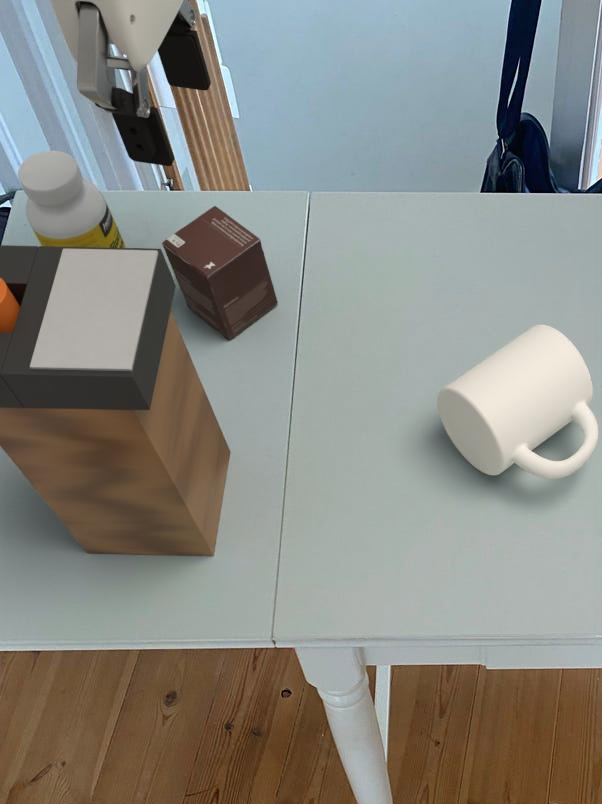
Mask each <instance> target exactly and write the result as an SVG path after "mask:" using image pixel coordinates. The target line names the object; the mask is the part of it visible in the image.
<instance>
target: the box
mask: <svg viewBox="0 0 602 804" xmlns="http://www.w3.org/2000/svg"><path fill="white" fill-rule="evenodd" d="M262 245H263V244H262V241H261V239H260V238H259V237H258V236H257V235H255V234H254V233H253V232H252V231H250V230H249V229H247V228H246V227H244V226H243V224H241V223H240V222H238V221H237V220H235V219H234V218H233V217H231V215H228V214H227V213H226V212H225V211H223V210H222V209H220V207H217V206H216V205H213V206H212V207H211V208H209V209H208V210H206V211H204V212H203V213H202V214H200V215H199V216H198V217H197V218H195V219H193V220H192V221H191V222H189V223H187V224H186V225H184V226H183V227H181V228H180V229H178V230H177V231H176V232H175V233H174V232H173V234H171V235H170V236H169V237H168V238H166V239H165V240H163V241H162V242H161V246H162V247H163V249H164V251H165V255H166V257H167V259H168V262H169V264H170V266H171V268H172V271H173V273H174V276H175V278H176V281H177V284H178V286H179V288H180V290H181V292H182V295H183V297H184V300H185V302H186V303H185V304H186V306H187V307H188V308H189V309H190V310H192V312H194V313H195V314H197V316H199V317H200V318H201V319H202V320H204V321H205V322H206V323H208V324H209V326H211V327H213V328H214V329H215V330H216V331H218V332H219V333H220V334H221V335H223V337H225V338H226V339H228V340H231V339H233V338H234V337H236V336H237V335H238V334H240V333H241V332H243V331H244V330H245V329H247V328H248V327H249V326H251V324H253V323H254V322H256V321H257V320H259V319H260V318H261V317H262V316H264V315H265V314H266V313H267V312H269V311H270V310H271V309H273V308H274V307H275V306H277V305H278V304H279V302H278V298H277V295H276V291H275V287H274V283H273V280H272V276H271V273H270V270H269V266H268V263H267V260H266V256H265V252H264V249H263V246H262Z"/></svg>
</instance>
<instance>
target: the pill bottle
mask: <svg viewBox="0 0 602 804" xmlns="http://www.w3.org/2000/svg"><path fill="white" fill-rule="evenodd" d="M17 177H18V178H17V179H18V181H19V183H20V186H21V188H22V190H23V192H24V194H25V195H26V197H27V200H26V202H25V215H26V219H27V221H28V224H29V226H30V227H31V229H32V231H33V233H34V235H35V237H36V239H37V240H38V242H39V243H40V246H53V247H102V248H127V245H126V243H125V241H124V239H123V237H122V235H121V232H120V230H119V228H118V226H117V224H116V222H115V221H116V220H115V219H114V217H113V214H112V212H111V210H110V208H109V205H108V203H107V201H106V199H105V197H104V194H103V193H102V191H101V190H100V189H99V188H98V186H97V185H96V184H95V183H93V182H92V181H90V180H88V179H86V178H84V177H83V174H82V171H81V169H80V168H79V165H78V163H77V161H76V160H75V159H74V157H73V156H72V155H70V154H68V153H67V152H63V151H59V150H44V151H40V152H37V153H34V154H33V155H30V156H29V157H28V158H26V159H25V160H24V161H23V162H22V163H21V164H20V166H19V168H18V169H17Z"/></svg>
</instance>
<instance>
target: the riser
mask: <svg viewBox="0 0 602 804" xmlns="http://www.w3.org/2000/svg"><path fill="white" fill-rule="evenodd" d="M0 448H1V449H2V450H3V451H4V453H5V454H6V455H7V457H9V459H10V460H11V461H12V462H13V464H14V465H15V466H16V467H17V468H18V470H19V471H20V472H21V474H22V475H24V477H25V478H26V480H27V481H28V483H30V485H31V486H32V487H33V488H34V489H35V491H36V492H37V493H38V494H39V496H40V497H41V498H42V499H43V501H45V503H46V504H47V505H48V506H49V508H50V509H51V510H52V511H53V513H54V514H55V515H56V516H57V517H58V519H59V520H60V521H61V522H62V524H63V526H64V527H65V528H66V529H67V530H68V532H69V533H70V534H71V535H72V537H74V538H75V540H76V541H77V542H78V543H79V545H80V546H81V547H82V548H83V550H84V551H85V552H86V553H87V554H102V555H103V554H109V555H110V554H111V555H153V556H154V555H158V556H161V555H162V556H203V557H205V556H206V557H211V556H212V557H214V556H215V549H216V544H217V538H218V531H219V524H220V520H221V519H220V518H221V512H222V505H223V500H224V492H225V488H226V482H227V481H226V480H227V476H228V475H227V474H228V468H229V461H230V456H231V450H230V447H229V445H228V443H227V441H226V438H225V435H224V433H223V431H222V429H221V426H220V424H219V421H218V419H217V416H216V414H215V412H214V409H213V407H212V404H211V401H210V400H209V397H208V395H207V393H206V390H205V388H204V386H203V383H202V381H201V378H200V377H199V373H198V371H197V369H196V367H195V364H194V361H193V360H192V357H191V355H190V353H189V350H188V348H187V346H186V343H185V340H184V339H183V336H182V334H181V331H180V328H179V326H178V324H177V321H176V319H175V317H174V314H173V312H172V310H171V311H170V316H169V320H168V325H167V330H166V335H165V340H164V344H163V349H162V354H161V359H160V364H159V368H158V373H157V378H156V383H155V388H154V392H153V397H152V402H151V407H150V410H120V409H71V408H25V407H24V408H15V407H0Z"/></svg>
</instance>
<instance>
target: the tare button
mask: <svg viewBox="0 0 602 804" xmlns="http://www.w3.org/2000/svg"><path fill="white" fill-rule="evenodd" d="M19 310H20V306H19V304H18V302H17V301H16V299H15V298H14V296H13V294H12V293H11V291H10V290H9V288H8V286H7V285H6V283H5V282H4V281H3V279H1V278H0V332H4V333H13V330H14V327H15V323H16V320H17V317H18V313H19Z"/></svg>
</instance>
